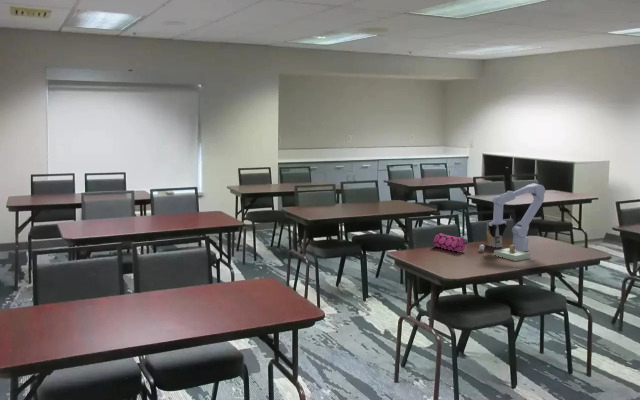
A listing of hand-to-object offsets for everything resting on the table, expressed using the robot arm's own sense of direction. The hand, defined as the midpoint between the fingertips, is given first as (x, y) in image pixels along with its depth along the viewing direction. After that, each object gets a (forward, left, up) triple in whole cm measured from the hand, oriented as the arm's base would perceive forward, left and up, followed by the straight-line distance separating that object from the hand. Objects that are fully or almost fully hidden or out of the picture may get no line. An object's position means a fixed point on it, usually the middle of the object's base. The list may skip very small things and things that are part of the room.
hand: (496, 236), depth 358 cm
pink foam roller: (+24, -17, -10) cm, 31 cm away
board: (+5, +16, -9) cm, 19 cm away
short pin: (+10, -3, -9) cm, 14 cm away
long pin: (+5, +16, -9) cm, 19 cm away
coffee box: (-10, -10, -10) cm, 17 cm away
